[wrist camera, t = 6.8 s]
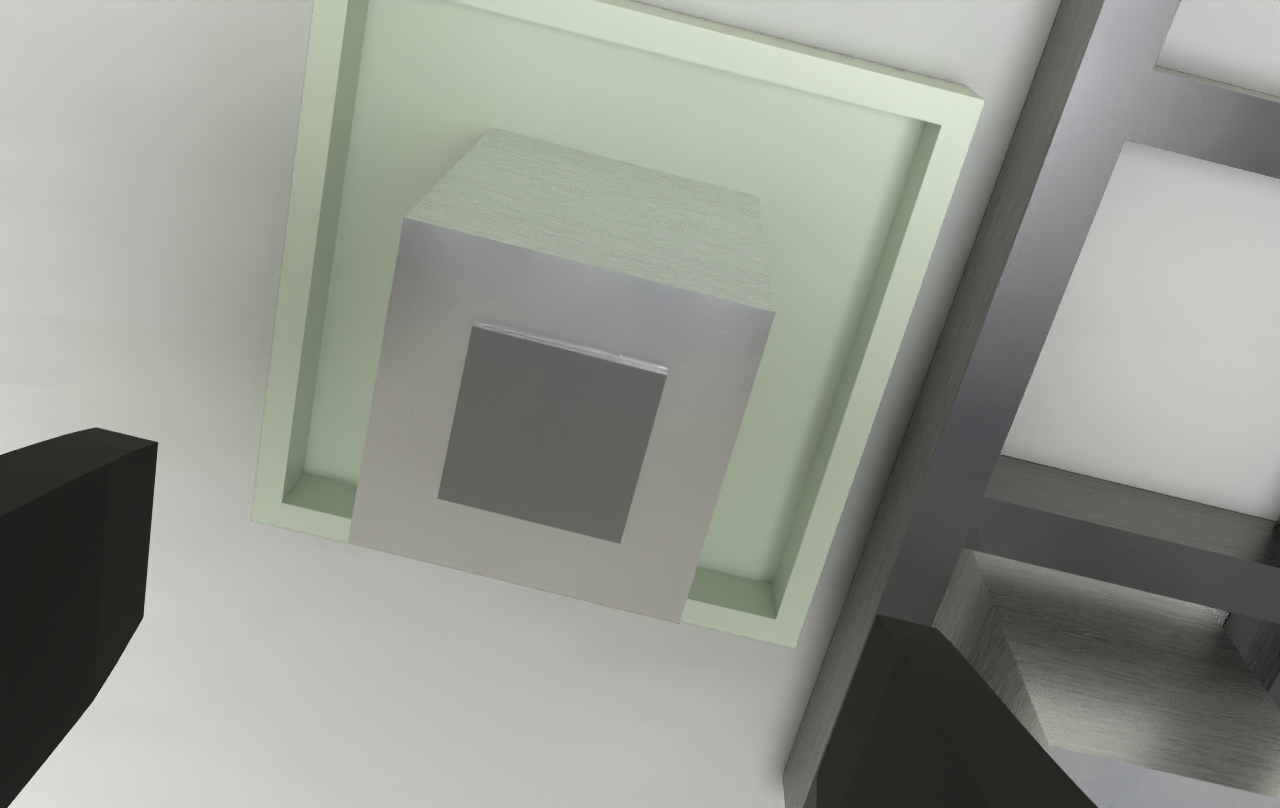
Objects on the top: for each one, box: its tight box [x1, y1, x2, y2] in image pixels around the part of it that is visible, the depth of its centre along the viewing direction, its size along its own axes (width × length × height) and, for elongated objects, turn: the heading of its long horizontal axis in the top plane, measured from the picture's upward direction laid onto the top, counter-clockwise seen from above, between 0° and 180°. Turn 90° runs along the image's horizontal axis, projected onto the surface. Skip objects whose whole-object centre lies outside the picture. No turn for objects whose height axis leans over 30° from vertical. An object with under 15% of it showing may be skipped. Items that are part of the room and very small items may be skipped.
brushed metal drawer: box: [931, 548, 1280, 808], centre depth 20 cm, size 4×4×6 cm
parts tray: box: [251, 0, 985, 648], centre depth 20 cm, size 10×10×2 cm
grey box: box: [348, 128, 776, 624], centre depth 18 cm, size 4×4×6 cm
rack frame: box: [783, 0, 1280, 808], centre depth 19 cm, size 22×8×2 cm, turn 167°
